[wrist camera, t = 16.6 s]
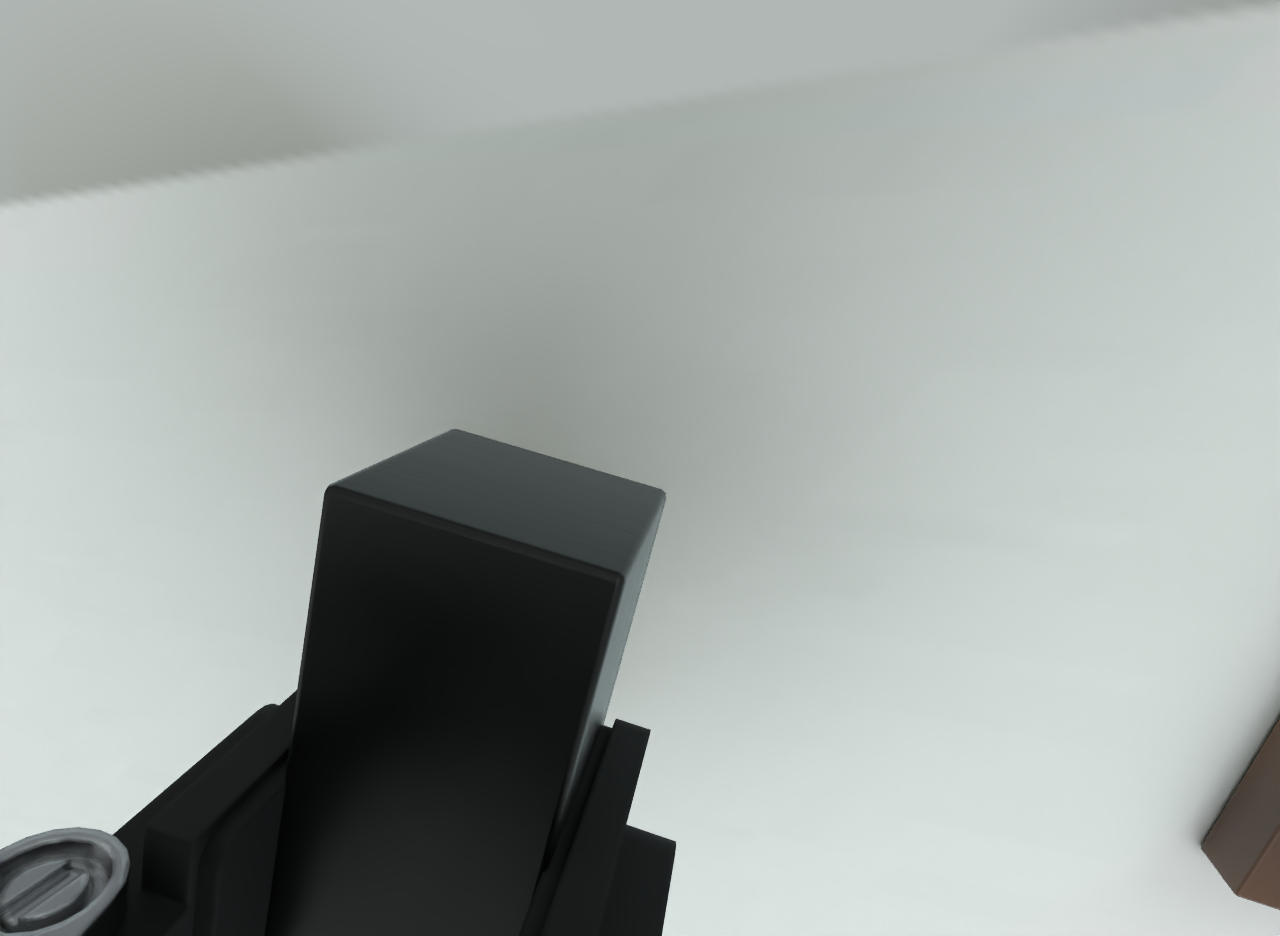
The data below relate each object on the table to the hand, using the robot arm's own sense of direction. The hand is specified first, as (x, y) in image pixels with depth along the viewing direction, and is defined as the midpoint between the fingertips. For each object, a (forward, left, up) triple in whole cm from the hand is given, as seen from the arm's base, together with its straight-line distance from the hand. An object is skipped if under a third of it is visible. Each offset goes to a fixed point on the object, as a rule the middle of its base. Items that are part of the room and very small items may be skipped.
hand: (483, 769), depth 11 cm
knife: (+5, 0, 0) cm, 5 cm away
